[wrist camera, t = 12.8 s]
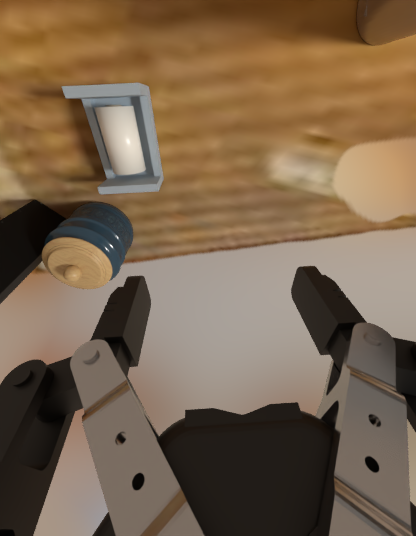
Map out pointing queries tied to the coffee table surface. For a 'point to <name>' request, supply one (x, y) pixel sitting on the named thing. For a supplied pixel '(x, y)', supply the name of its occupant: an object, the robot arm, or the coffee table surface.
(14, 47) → the coffee table surface
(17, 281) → the long black block
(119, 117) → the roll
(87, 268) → the canister
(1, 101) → the coffee table surface
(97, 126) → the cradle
